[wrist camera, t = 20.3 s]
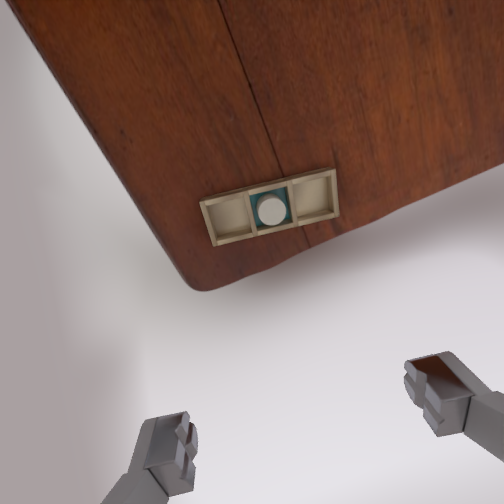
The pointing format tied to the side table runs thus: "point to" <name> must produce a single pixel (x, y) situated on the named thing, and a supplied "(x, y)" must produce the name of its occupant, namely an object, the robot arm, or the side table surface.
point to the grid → (291, 194)
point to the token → (270, 209)
